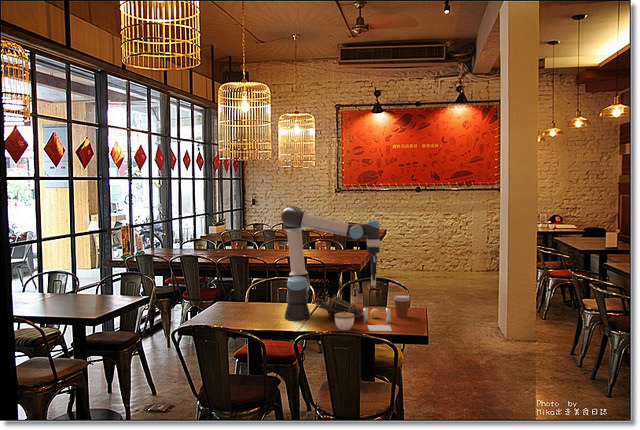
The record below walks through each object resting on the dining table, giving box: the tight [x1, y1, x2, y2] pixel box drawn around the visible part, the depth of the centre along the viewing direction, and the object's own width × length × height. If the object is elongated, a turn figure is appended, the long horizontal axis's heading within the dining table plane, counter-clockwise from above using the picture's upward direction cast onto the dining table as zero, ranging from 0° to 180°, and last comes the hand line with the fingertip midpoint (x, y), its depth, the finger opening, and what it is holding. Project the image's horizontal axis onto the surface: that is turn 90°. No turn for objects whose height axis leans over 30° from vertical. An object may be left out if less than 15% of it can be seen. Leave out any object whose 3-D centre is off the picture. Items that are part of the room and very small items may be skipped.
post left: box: [363, 307, 369, 324], centre depth 322 cm, size 3×3×8 cm
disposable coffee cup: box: [393, 294, 411, 319], centre depth 336 cm, size 10×10×12 cm
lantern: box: [312, 294, 364, 318], centre depth 335 cm, size 14×23×30 cm
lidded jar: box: [334, 311, 355, 331], centre depth 308 cm, size 11×11×9 cm
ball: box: [369, 308, 381, 319], centre depth 333 cm, size 6×6×6 cm
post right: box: [385, 307, 392, 324], centre depth 322 cm, size 3×3×8 cm
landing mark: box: [367, 324, 393, 332], centre depth 309 cm, size 12×12×1 cm
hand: (373, 285), depth 343 cm, fingers closed
